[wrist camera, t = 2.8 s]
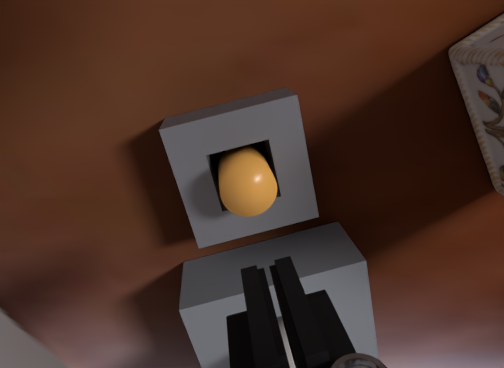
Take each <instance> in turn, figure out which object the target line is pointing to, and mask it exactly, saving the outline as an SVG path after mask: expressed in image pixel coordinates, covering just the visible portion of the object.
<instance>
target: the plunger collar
mask: <svg viewBox="0 0 504 368" xmlns="http://www.w3.org/2000/svg"><path fill="white" fill-rule="evenodd" d="M159 132H160V135H161V138H162V141H163V144H164V147H165V150H166V153H167V156H168V159H169V162H170V165H171V168H172V170H173V173H174V176H175V179H176V182H177V185H178V188H179V191H180V194H181V197H182V200H183V203H184V206H185V209H186V212H187V215H188V218H189V221H190V224H191V227H192V230H193V233H194V235H195V238H196V241H197V244H198V247H199V248H203V247H207V246H211V245H215V244H218V243H222V242H226V241H230V240H234V239H237V238H241V237H245V236H249V235H253V234H256V233H260V232H264V231H268V230H272V229H275V228H279V227H283V226H287V225H291V224H294V223H298V222H302V221H306V220H310V219H313V218H317V217H319V214H318V208H317V203H316V197H315V191H314V186H313V180H312V175H311V169H310V163H309V158H308V152H307V147H306V141H305V135H304V130H303V124H302V119H301V113H300V107H299V102H298V96H297V94H295V93H294V92H292V91H291V90H289V89H287V88H282V89H278V90H274V91H270V92H266V93H263V94H259V95H255V96H251V97H247V98H243V99H239V100H235V101H231V102H227V103H223V104H219V105H215V106H211V107H208V108H204V109H200V110H196V111H192V112H188V113H184V114H180V115H176V116H172V117H168V118H165V119H164V121H163V123H162V125H161V127H160V129H159ZM260 141H264V142H265V146H266V151H267V155H268V159H269V164H270V168H271V171H272V173H273V175H274V178H275V180H276V183H277V195H276V198H275V201H274V202H273V204H272V205H271V206H270V207H269V208H268V209H267V210H266V211H265V212H263V213H261V214H259V215H256V216H251V217H243V216H239V215H236V214H234V213H232V212H230V211H229V210H228V209H227V208H226V207H225V206H224V204H223V202H222V200H221V197H220V189H219V185H218V182H217V178H216V175H215V172H214V168H213V165H212V161H211V158H210V154H213V153H217V152H221V151H225V150H229V149H233V148H237V147H241V146H244V145H248V144H252V143H256V142H260Z"/></svg>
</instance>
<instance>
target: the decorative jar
mask: <svg viewBox="0 0 504 368" xmlns="http://www.w3.org/2000/svg"><path fill="white" fill-rule="evenodd" d="M448 55H449V59H450V62H451V66H452V69H453V71H454V74H455V77H456V79H457V82H458V85H459V88H460V90H461V93H462V96H463V99H464V102H465V105H466V108H467V111H468V113H469V116H470V119H471V123H472V126H473V129H474V132H475V134H476V137H477V141H478V143H479V146H480V149H481V152H482V154H483V157H484V160H485V163H486V166H487V168H488V171H489V174H490V178H491V181H492V183H493V186H494V188H495V190H496V191H497V192H498V193H500V194H502V195H503V196H504V14H502V15H501V16H499V17H497V18H496V19H494V20H493V21H491V22H489V23H488V24H486V25H485V26H483V27H482V28H480V29H479V30H477V31H476V32H474V33H472V34H471V35H469V36H468V37H466V38H464V39H463V40H461V41H460V42H458V43H457V44H455V45H453V46H452V47H451V48H450V49H449V52H448Z"/></svg>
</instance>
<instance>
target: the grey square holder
mask: <svg viewBox="0 0 504 368" xmlns="http://www.w3.org/2000/svg"><path fill="white" fill-rule="evenodd" d="M288 256H290V257H291V259H292V262H293V264H294V267H295V269H296V272H297V274H298V277H299V279H300V282H301V284H302V287H303V289H304V292H305V294H310V293H313V292H317V291H321V290H324V289H325V290H326V292H327V294H328V296H329V298H330V300H331V302H332V304H333V306H334V308H335V310H336V312H337V314H338V316H339V318H340V320H341V322H342V324H343V326H344V328H345V330H346V332H347V334H348V336H349V338H350V340H351V342H352V344H353V346H354V348H355V350H356V352H357V353H363V354H367V355H371V356H373V357H375V358H377V359H378V360H379V357H378V349H377V341H376V334H375V326H374V318H373V310H372V302H371V294H370V287H369V279H368V271H367V263H366V260H365V258H364V257H363V255H362V254H361V253H360V251H359V250H358V248H357V247H356V246H355V244H354V243H353V241H352V240H351V239H350V237H349V236H348V235H347V233H346V232H345V230H344V229H343V228H342V226H341V225H340V223H339V222H334V223H330V224H326V225H322V226H319V227H315V228H311V229H307V230H303V231H300V232H296V233H292V234H288V235H284V236H281V237H277V238H273V239H269V240H266V241H262V242H258V243H254V244H250V245H247V246H243V247H239V248H235V249H231V250H228V251H224V252H220V253H216V254H212V255H209V256H205V257H201V258H197V259H193V260H190V261H186V262H184V263H183V273H182V283H181V293H180V303H179V312H180V315H181V317H182V320H183V322H184V325H185V327H186V330H187V332H188V335H189V338H190V340H191V343H192V345H193V348H194V350H195V353H196V355H197V358H198V360H199V363H200V365H201V368H230V362H229V348H228V335H227V322H226V317H227V316H229V315H232V314H236V313H240V312H243V311H247V309H246V303H245V297H244V290H243V284H242V277H241V270H240V269H243V268H247V267H250V266H254V265H257V269H260V268H264V270H265V274H266V278H267V282H268V286H269V289H270V293H271V297H272V301H273V305H274V308H275V312H276V316H277V317H280V316H282V315H281V312H280V308H279V304H278V300H277V296H276V292H275V288H274V284H273V280H272V276H271V272H270V269H269V266H271V265H275V262H274V260H276V259H280V258H284V257H288Z"/></svg>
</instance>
